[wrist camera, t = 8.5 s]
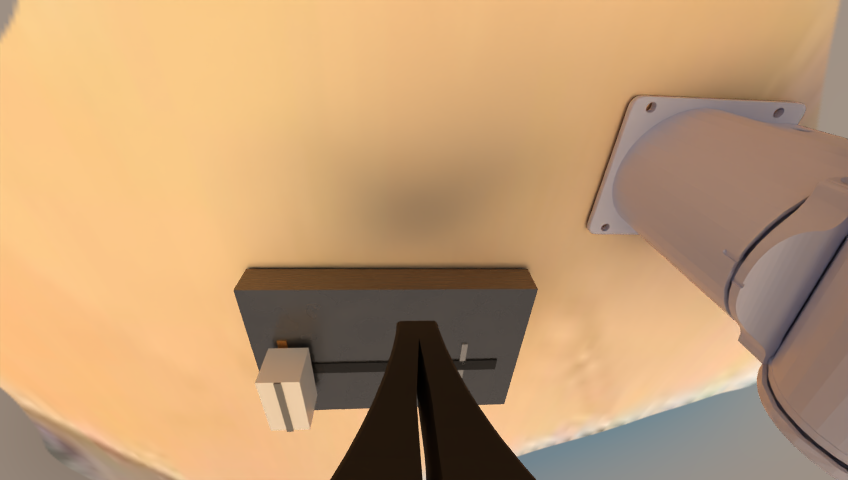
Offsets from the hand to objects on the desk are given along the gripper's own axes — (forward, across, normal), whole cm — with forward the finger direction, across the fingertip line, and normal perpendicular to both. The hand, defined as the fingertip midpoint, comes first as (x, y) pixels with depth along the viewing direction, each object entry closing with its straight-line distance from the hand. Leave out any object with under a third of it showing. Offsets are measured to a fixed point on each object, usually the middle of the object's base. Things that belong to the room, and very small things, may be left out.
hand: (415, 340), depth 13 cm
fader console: (+9, +1, +10) cm, 14 cm away
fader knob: (+7, +7, +11) cm, 15 cm away
